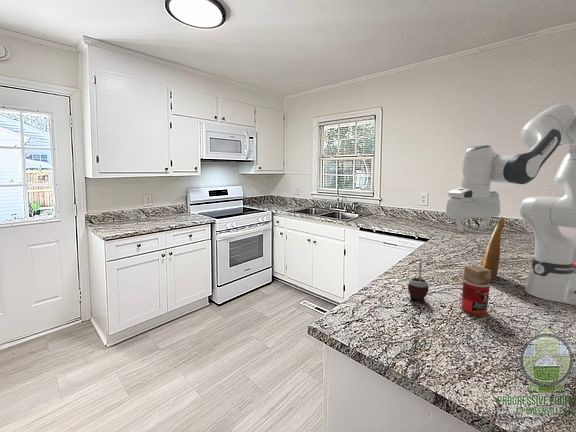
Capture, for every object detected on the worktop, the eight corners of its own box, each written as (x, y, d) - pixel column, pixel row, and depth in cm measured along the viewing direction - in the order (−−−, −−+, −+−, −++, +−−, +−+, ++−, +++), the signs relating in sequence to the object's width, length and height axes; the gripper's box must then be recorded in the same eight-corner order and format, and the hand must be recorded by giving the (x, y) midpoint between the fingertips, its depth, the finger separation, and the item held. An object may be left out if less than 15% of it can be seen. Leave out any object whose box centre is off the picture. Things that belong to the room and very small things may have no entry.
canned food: (474, 317, 100) (477, 286, 99) (455, 307, 108) (458, 278, 106) (492, 314, 102) (495, 284, 101) (472, 304, 110) (475, 276, 108)
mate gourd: (415, 305, 109) (418, 265, 107) (402, 296, 117) (404, 259, 115) (432, 303, 111) (435, 264, 109) (418, 294, 119) (420, 258, 117)
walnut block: (476, 277, 107) (478, 265, 106) (490, 283, 102) (491, 270, 101) (463, 278, 106) (464, 266, 105) (476, 284, 100) (477, 271, 100)
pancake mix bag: (503, 274, 142) (510, 216, 138) (492, 285, 129) (499, 221, 125) (487, 271, 147) (493, 215, 143) (475, 280, 134) (481, 219, 130)
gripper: (491, 190, 112) (488, 226, 114) (444, 192, 108) (441, 229, 110) (507, 191, 106) (503, 229, 108) (457, 193, 102) (454, 233, 104)
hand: (472, 229), depth 109 cm, fingers open, 8 cm apart
